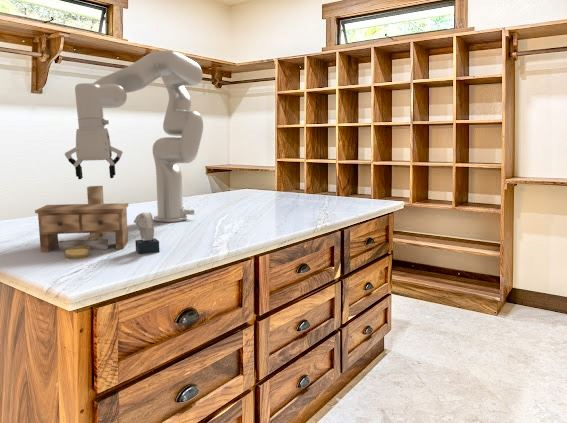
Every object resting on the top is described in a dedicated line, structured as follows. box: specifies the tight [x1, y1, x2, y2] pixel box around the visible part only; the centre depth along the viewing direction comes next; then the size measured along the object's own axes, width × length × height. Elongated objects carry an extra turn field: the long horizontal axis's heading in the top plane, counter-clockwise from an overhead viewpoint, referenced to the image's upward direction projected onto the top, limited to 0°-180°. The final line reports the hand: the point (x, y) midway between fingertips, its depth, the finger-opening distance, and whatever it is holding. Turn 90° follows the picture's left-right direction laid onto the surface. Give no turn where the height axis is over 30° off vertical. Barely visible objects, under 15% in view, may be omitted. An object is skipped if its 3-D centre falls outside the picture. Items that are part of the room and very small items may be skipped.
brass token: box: [64, 246, 91, 260], centre depth 128 cm, size 6×6×2 cm
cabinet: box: [34, 202, 129, 253], centre depth 138 cm, size 23×12×12 cm, turn 101°
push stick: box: [58, 185, 109, 252], centre depth 144 cm, size 13×23×16 cm, turn 11°
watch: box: [133, 212, 160, 255], centre depth 133 cm, size 6×8×11 cm
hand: (96, 178), depth 152 cm, fingers open, 9 cm apart
